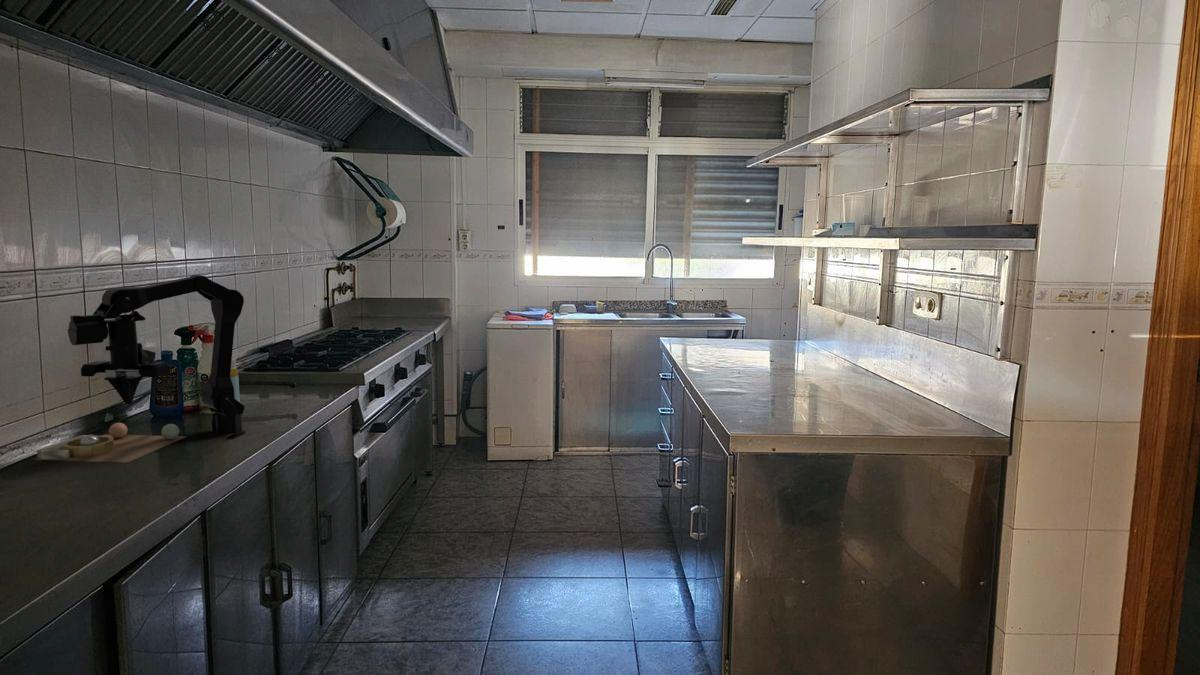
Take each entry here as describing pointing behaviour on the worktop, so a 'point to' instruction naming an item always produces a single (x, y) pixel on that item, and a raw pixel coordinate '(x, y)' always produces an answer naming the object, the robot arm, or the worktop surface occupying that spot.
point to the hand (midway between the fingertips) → (128, 404)
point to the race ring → (89, 447)
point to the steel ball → (89, 440)
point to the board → (122, 451)
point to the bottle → (235, 379)
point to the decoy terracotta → (118, 430)
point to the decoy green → (170, 431)
